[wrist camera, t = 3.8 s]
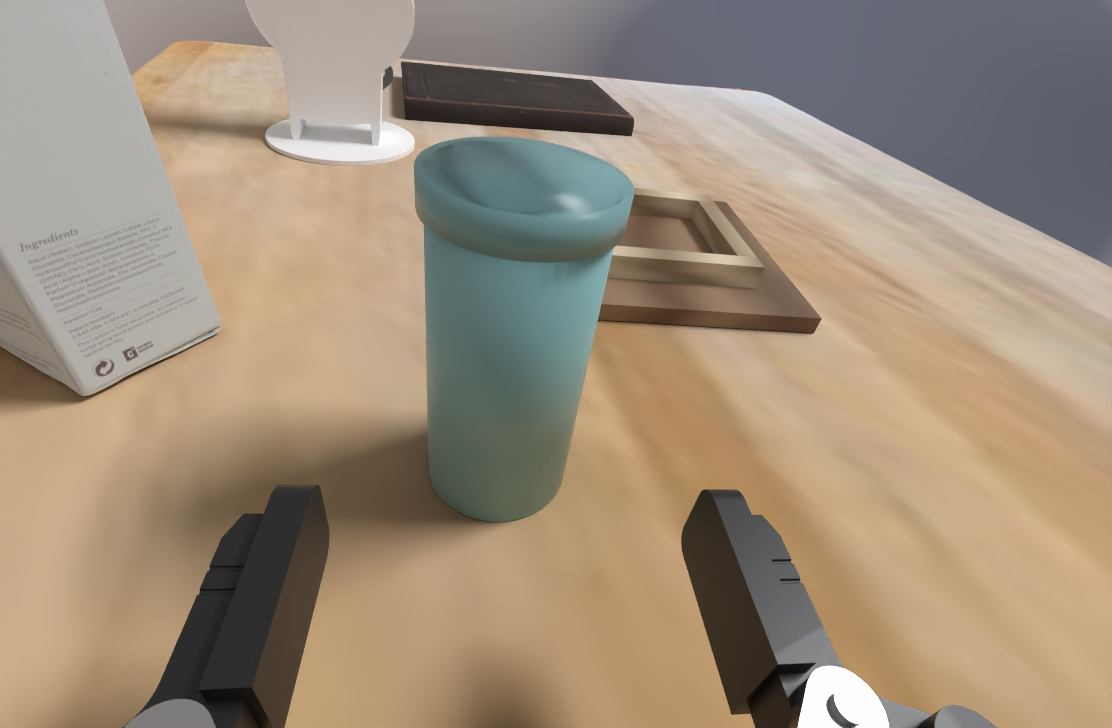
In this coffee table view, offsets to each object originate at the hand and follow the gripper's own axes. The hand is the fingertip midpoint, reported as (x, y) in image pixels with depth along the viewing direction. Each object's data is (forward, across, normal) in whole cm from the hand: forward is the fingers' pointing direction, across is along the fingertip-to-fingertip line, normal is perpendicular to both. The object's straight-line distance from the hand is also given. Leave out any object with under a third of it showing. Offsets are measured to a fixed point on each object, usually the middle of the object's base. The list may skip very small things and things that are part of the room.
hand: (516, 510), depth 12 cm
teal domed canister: (+6, 0, +6) cm, 9 cm away
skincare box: (+13, +17, +6) cm, 22 cm away
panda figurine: (+40, +12, +6) cm, 43 cm away
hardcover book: (+57, -2, +7) cm, 58 cm away
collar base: (+24, -10, +6) cm, 27 cm away
